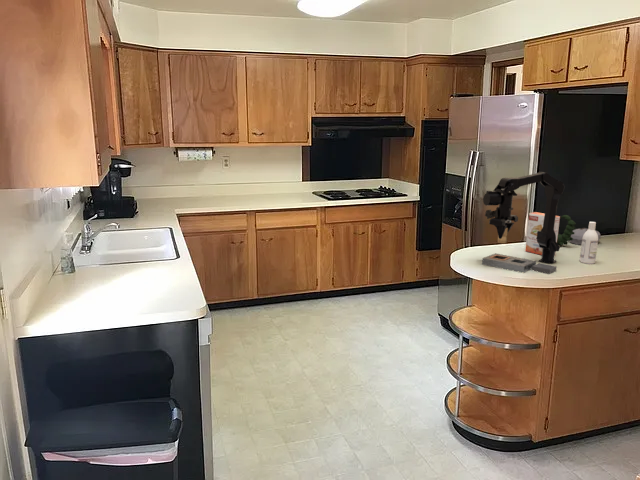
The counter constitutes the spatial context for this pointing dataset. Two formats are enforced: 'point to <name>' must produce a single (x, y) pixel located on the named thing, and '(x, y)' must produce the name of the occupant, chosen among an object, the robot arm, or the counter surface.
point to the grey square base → (544, 268)
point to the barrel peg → (503, 237)
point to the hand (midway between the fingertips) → (502, 237)
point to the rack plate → (508, 262)
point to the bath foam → (589, 245)
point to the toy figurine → (566, 231)
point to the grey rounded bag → (580, 236)
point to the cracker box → (535, 226)
